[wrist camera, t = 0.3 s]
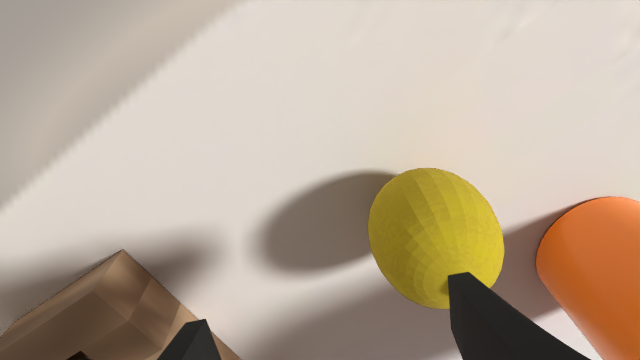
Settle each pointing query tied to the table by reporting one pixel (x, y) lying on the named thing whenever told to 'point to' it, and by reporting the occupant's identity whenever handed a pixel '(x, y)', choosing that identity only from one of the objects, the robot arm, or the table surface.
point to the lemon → (433, 234)
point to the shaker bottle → (597, 273)
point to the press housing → (103, 319)
